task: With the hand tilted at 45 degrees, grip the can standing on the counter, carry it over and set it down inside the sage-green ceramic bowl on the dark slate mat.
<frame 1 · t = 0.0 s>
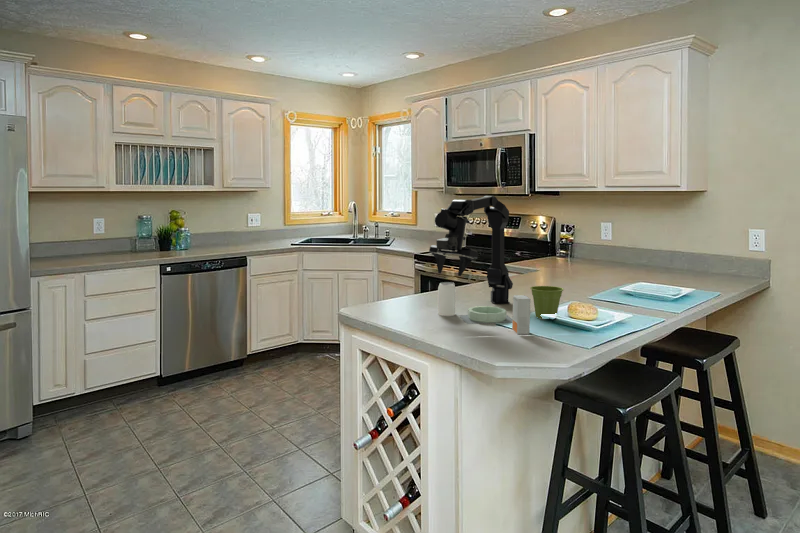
hand: (449, 274, 203), 15 cm above the table, tool pointing down, fingers open, 9 cm apart
plant pot: (545, 319, 202), on the table
bowl: (486, 318, 199), resting on slate mat
can: (446, 315, 207), on the table
skincare box: (520, 333, 181), on the table
slate mat: (486, 319, 199), on the table
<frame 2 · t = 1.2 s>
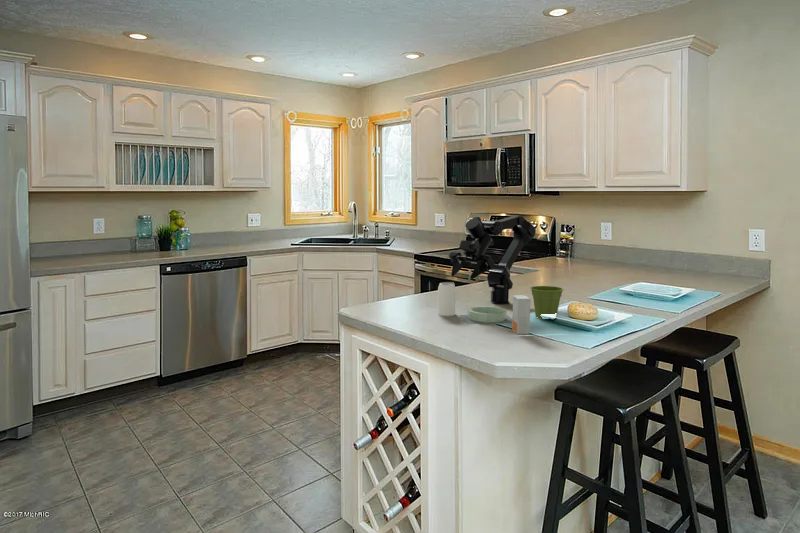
hand: (461, 277, 211), 13 cm above the table, tool tilted 45°, fingers open, 9 cm apart
nothing on the table moved.
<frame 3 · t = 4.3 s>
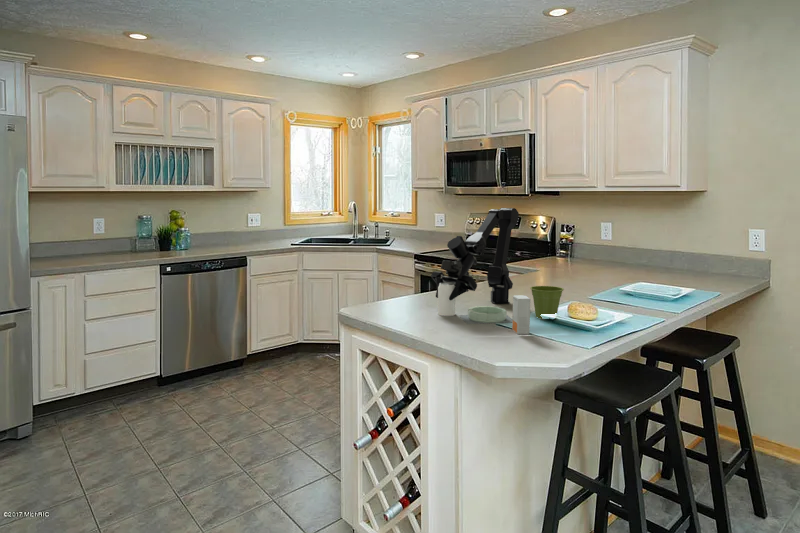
hand: (443, 298, 204), 7 cm above the table, tool tilted 45°, fingers closed on can, 6 cm apart
can: (446, 315, 207), on the table, touching gripper
everything else where it was.
when the fingers open (9 cm above the table, at t = 9.6 s): can stays where it is, resting on bowl.
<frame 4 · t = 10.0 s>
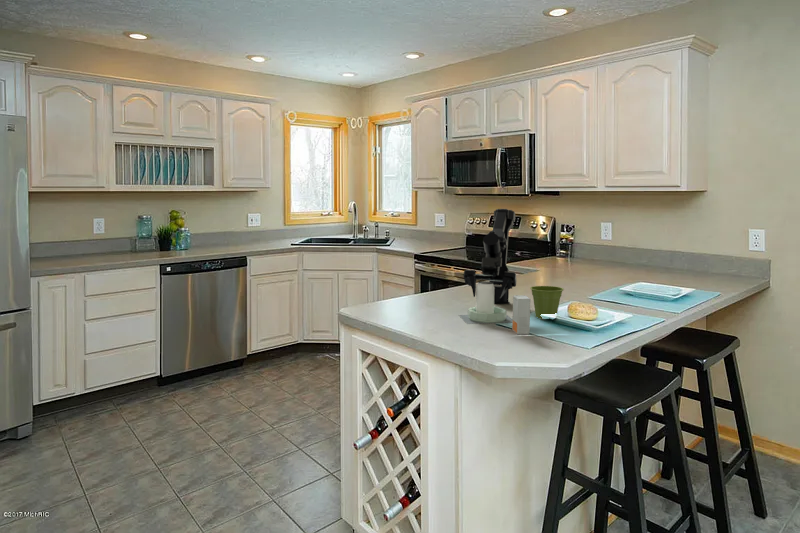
hand: (486, 297, 197), 9 cm above the table, tool tilted 45°, fingers open, 9 cm apart
can: (484, 315, 200), point 1 cm above the table, touching bowl
everything else where it was.
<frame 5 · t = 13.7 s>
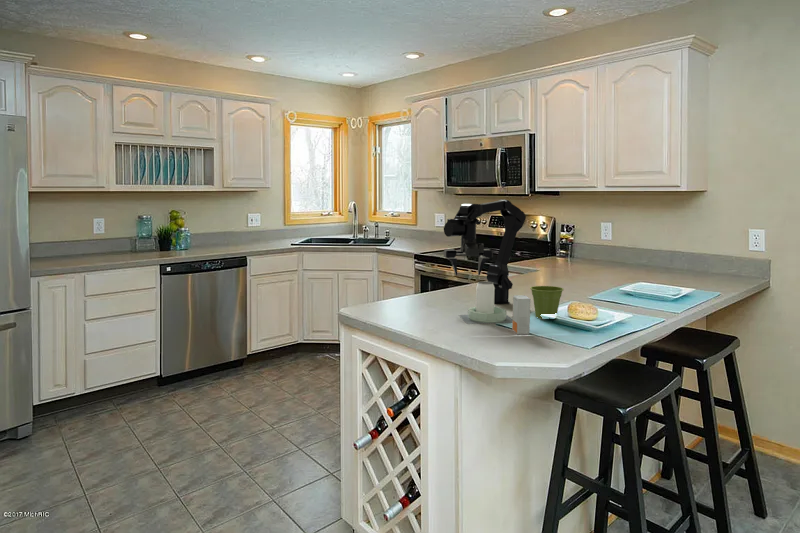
hand: (467, 275, 219), 13 cm above the table, tool pointing down, fingers open, 9 cm apart
nothing on the table moved.
at the end: can inside the target area on the bowl (1.4 cm from its centre), point 0.8 cm above the bowl's base; can tilted 0°; the gripper is holding nothing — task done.
